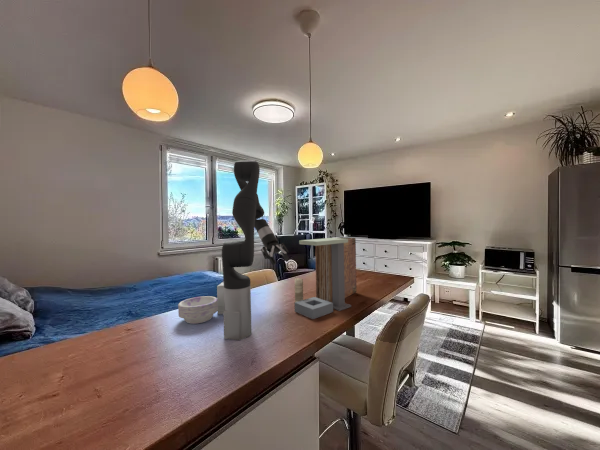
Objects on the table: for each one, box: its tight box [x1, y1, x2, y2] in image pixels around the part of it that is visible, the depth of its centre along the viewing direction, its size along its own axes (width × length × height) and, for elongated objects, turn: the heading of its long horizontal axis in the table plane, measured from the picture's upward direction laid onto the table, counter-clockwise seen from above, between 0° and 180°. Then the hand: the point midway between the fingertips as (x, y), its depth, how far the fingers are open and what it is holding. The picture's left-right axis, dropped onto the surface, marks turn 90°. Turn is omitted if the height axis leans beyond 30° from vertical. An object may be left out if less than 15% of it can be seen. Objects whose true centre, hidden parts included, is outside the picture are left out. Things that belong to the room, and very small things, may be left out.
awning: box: [298, 237, 352, 312], centre depth 111 cm, size 11×22×32 cm, turn 129°
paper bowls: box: [177, 295, 218, 325], centre depth 103 cm, size 15×15×8 cm
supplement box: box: [216, 281, 224, 315], centre depth 112 cm, size 7×7×13 cm
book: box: [314, 236, 358, 303], centre depth 129 cm, size 25×9×30 cm, turn 140°
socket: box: [293, 296, 334, 320], centre depth 109 cm, size 12×12×4 cm
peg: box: [294, 277, 304, 302], centre depth 120 cm, size 4×4×12 cm
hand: (281, 262), depth 125 cm, fingers open, 8 cm apart
